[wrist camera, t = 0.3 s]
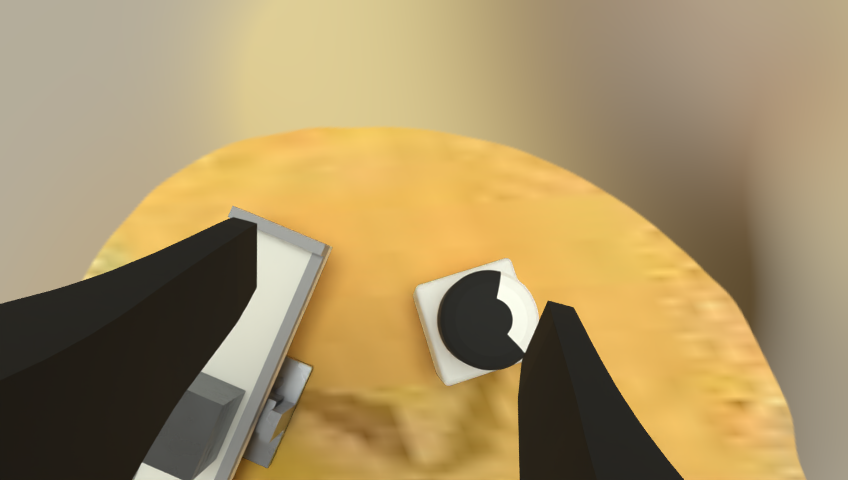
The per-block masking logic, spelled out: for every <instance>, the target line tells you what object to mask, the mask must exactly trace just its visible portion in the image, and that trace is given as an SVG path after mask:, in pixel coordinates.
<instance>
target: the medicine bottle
mask: <svg viewBox="0 0 848 480" xmlns="http://www.w3.org/2000/svg"><path fill="white" fill-rule="evenodd" d="M413 299H414V302H415V305H416V308H417V312H418V315H419V318H420V321H421V325H422V328H423V331H424V334H425V338H426V341H427V344H428V347H429V351H430V354H431V357H432V360H433V364H434V367H435V370H436V373H437V375H438V376H439V378H440V379H441V380H442V381H443V383H444V384H445V385H447V386H451V385H454V384H457V383H460V382H463V381H466V380H469V379H472V378H475V377H478V376H481V375H484V374H487V373H490V372H493V371H496V370H500V369H504V368H507V367H510V366H512V365H514V364H517V363H520V362H522V359H523V356H524V354H525V352H526V350H527V347H528V345H529V343H530V340H531V338H532V336H533V334H534V331H535V329H536V327H537V325H538V322H539V316H538V310H537V306H536V303H535V301H534V299H533V297H532V295H531V293H530V292H529V290H528V289H527V288H526V287H525V286H524V285H523V284H522V283H521V282H520V281H519V280H518V279H517V276H516V273H515V271H514V268H513V265H512V262H511V260H510V259H508V258H504V259H501V260H498V261H495V262H491V263H488V264H485V265H482V266H479V267H475V268H472V269H469V270H466V271H462V272H459V273H456V274H453V275H449V276H446V277H443V278H440V279H437V280H433V281H430V282H427V283H424V284H420V285H418V286H417V287H416V289H415V291H414V294H413Z"/></svg>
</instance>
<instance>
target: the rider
mask: <svg viewBox="0 0 848 480" xmlns="http://www.w3.org/2000/svg"><path fill="white" fill-rule="evenodd" d="M245 392H246V391H245V390H243V389H241V388H238V387H236V386H234V385H231V384H229V383H227V382H224V381H222V380H220V379H217V378H215V377H213V376H210V375H208V374H206V373H203V372H200V373H199V375H198V376H197V377H196V379H195V380H194V381H193V383H192V384H191V385H190V387H189V388H188V389H187V391H186V392H185V393H184V395H183V396H182V398H181V399H180V401H179V402H178V404H177V405H176V406H175V408H174V409H173V411H172V413H171V414H170V416H169V418H168V419H167V421H166V423H165V424H164V426H163V428H162V429H161V431H160V433H159V434H158V436H157V438H156V439H155V441H154V443H153V444H152V446H151V448H150V449H149V451H148V453H147V455H146V456H145V458H144V460H143V462H142V463H144V464H147V465H149V466H151V467H153V468H156V469H158V470H160V471H163V472H165V473H167V474H170V475H172V476H174V477H177V478H179V479H181V480H194V479H195V478H196V477H197V476H198V475H199V474H200V473H201V472H202V471H204V470H205V469H206V468H207V467H208V466H209V465H210V464H211V463H213V462H214V461H215V460H216V458H217V456H218V454H219V451H220V449H221V447H222V445H223V442H224V440H225V438H226V435H227V433H228V431H229V428H230V426H231V424H232V422H233V419H234V417H235V415H236V412H237V410H238V408H239V405H240V403H241V401H242V399H243V396H244V394H245Z"/></svg>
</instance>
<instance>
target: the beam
mask: <svg viewBox="0 0 848 480" xmlns="http://www.w3.org/2000/svg"><path fill="white" fill-rule="evenodd" d="M228 217H229V218H232V217H236V218H239V219H243V220H247V221H251V222H254V223H257V288H256V290H255V292H254V294H253V296H252V298H251V300H250V301H249V303H248V305H247V307H246V309H245V310H244V312H243V314H242V316H241V317H240V319H239V321H238V322H237V324H236V325H235V326H234V328H233V329H232V331H231V332H230V333H229V335H228V336H227V337H226V339H225V340H224V341H223V343H222V344H221V345H220V347H219V348H218V349H217V351H216V352H215V353H214V355H213V356H212V357H211V359H210V360H209V361H208V363H207V364H206V365H205V367H204V368H203V369H202V371H201V372H203V373H206V374H208V375H210V376H213V377H215V378H217V379H220V380H222V381H224V382H227V383H229V384H231V385H234V386H236V387H238V388H241V389H243V390H245V391H246V392H245V394H244V396H243V399H242V401H241V403H240V405H239V408H238V410H237V412H236V415H235V417H234V419H233V422H232V424H231V426H230V428H229V431H228V433H227V435H226V438H225V440H224V442H223V445H222V447H221V449H220V451H219V454H218V456H217V458H216V460H215V461H214V462H213V463H211V464H210V465H209V466H208V467H207V468H206V469H205V470H204V471H202V472H201V473H200V474H199V475H198V476H197V477H196V478H195V479H194V480H232V479H233V477H234V475H235V472H236V470H237V468H238V465H239V463H240V461H241V458H242V456H243V454H244V451H245V449H246V447H247V445H248V442H249V440H250V438H251V435H252V433H253V431H254V428H255V426H256V424H257V421H258V419H259V417H260V414H261V412H262V410H263V407H264V405H265V403H266V400H267V398H268V396H269V393H270V391H271V389H272V387H273V384H274V382H275V380H276V377H277V375H278V373H279V370H280V368H281V366H282V363H283V361H284V359H285V356H286V354H287V352H288V349H289V347H290V345H291V342H292V340H293V338H294V335H295V333H296V331H297V329H298V326H299V324H300V322H301V319H302V317H303V315H304V312H305V310H306V308H307V305H308V303H309V301H310V298H311V296H312V294H313V291H314V289H315V287H316V284H317V282H318V280H319V278H320V275H321V273H322V271H323V268H324V266H325V264H326V261H327V259H328V257H329V254H330V252H331V250H332V247H331V246H329V245H326V244H324V243H322V242H319V241H317V240H314V239H312V238H310V237H307V236H305V235H303V234H300V233H298V232H295V231H293V230H291V229H288V228H286V227H283V226H281V225H279V224H276V223H274V222H271V221H269V220H267V219H264V218H262V217H259V216H257V215H255V214H252V213H250V212H248V211H245V210H242V209H240V208H237V207H234V206H233V207H232V209H231V211H230V213H229V216H228ZM132 480H181V479H179V478H177V477H174V476H172V475H170V474H167V473H165V472H163V471H160V470H158V469H156V468H153V467H151V466H149V465H147V464H144V463H141V465H140V467H139V469H138V470H137V472H136V474H135V476H134V477H133V479H132Z"/></svg>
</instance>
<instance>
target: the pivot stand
mask: <svg viewBox="0 0 848 480" xmlns="http://www.w3.org/2000/svg"><path fill="white" fill-rule="evenodd" d="M312 369H313V366H311V365H308V364H306V363H303V362H301V361H299V360H296V359H294V358H292V357H289V356H287V355H286V356H285V359H284V361H283V363H282V366H281V368H280V370H279V373H278V375H277V377H276V380H275V382H274V384H273V387H272V389H271V391H270V393H269V396H268V398H267V400H266V403H265V405H264V407H263V410H262V412H261V414H260V417H259V419H258V421H257V424H256V426H255V428H254V431H253V433H252V435H251V438H250V440H249V442H248V445H247V447H246V449H245V451H244V454H243V456H242V457H243V458H245V459H247V460H250V461H252V462H254V463H257V464H259V465H261V466H264V467H266V468H268V467H269V466H270V464H271V462H272V460H273V458H274V455H275V453H276V451H277V448H278V446H279V444H280V442H281V439H282V437H283V435H284V433H285V430H286V428H287V426H288V424H289V421H290V419H291V417H292V415H293V412H294V410H295V408H296V405H297V403H298V401H299V399H300V396H301V394H302V392H303V390H304V387H305V385H306V383H307V381H308V378H309V376H310V374H311V372H312Z"/></svg>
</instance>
